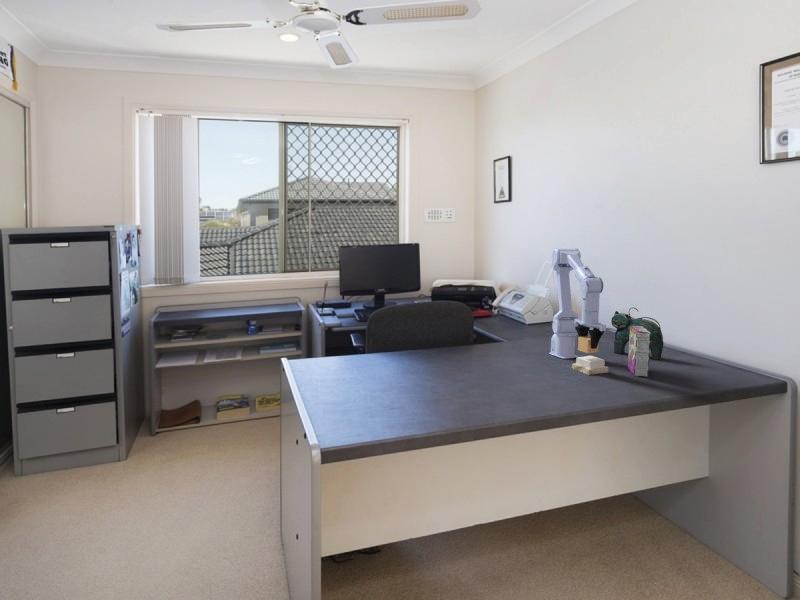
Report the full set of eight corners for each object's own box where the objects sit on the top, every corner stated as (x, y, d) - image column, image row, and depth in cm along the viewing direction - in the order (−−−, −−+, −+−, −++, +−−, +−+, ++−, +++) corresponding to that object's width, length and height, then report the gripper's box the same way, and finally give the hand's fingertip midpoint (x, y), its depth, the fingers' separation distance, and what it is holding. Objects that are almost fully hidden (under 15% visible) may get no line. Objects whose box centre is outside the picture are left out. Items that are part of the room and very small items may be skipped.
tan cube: (577, 350, 195) (578, 337, 194) (588, 348, 197) (589, 335, 196) (587, 353, 190) (587, 339, 189) (598, 351, 192) (598, 338, 191)
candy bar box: (626, 368, 197) (629, 325, 195) (640, 368, 196) (643, 325, 194) (633, 376, 186) (636, 331, 184) (648, 377, 185) (651, 332, 183)
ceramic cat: (608, 353, 220) (611, 306, 217) (614, 350, 224) (616, 304, 221) (659, 361, 207) (663, 311, 204) (664, 357, 212) (667, 309, 209)
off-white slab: (576, 364, 196) (576, 357, 195) (590, 361, 199) (590, 355, 198) (589, 368, 189) (590, 362, 189) (604, 366, 192) (604, 359, 192)
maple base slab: (571, 370, 197) (572, 363, 196) (590, 367, 200) (591, 361, 200) (588, 376, 189) (589, 369, 188) (608, 373, 192) (608, 367, 192)
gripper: (568, 308, 196) (566, 343, 198) (595, 314, 183) (593, 352, 185) (583, 307, 199) (581, 341, 201) (611, 313, 186) (609, 350, 188)
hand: (588, 346), depth 193 cm, fingers closed on tan cube, 5 cm apart
